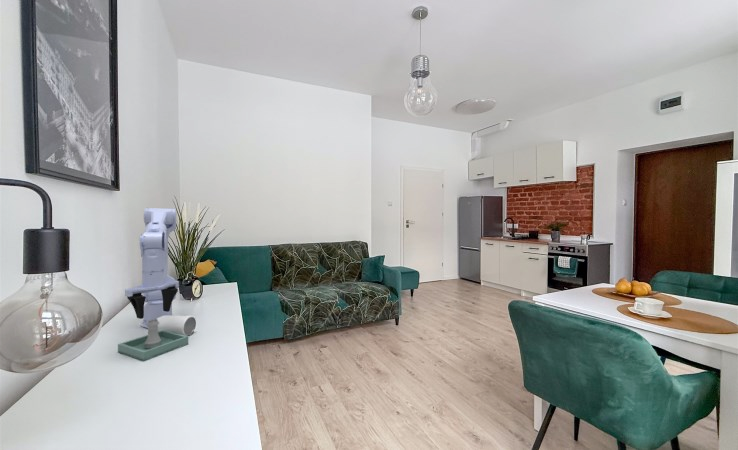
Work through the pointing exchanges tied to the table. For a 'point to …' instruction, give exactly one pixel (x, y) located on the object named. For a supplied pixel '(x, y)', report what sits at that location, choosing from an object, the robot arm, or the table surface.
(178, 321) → the can
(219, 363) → the table surface
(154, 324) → the rook chess piece
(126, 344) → the tray
